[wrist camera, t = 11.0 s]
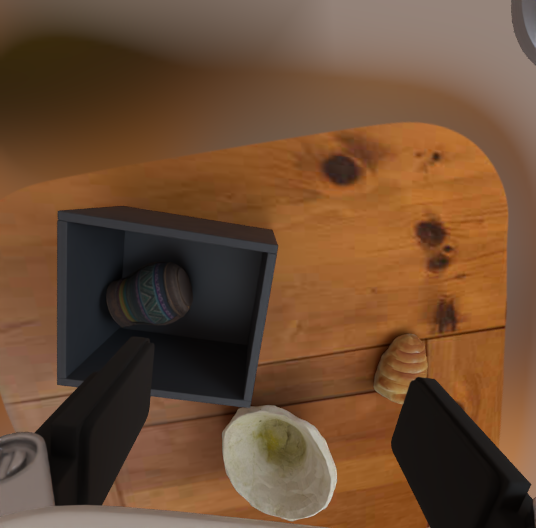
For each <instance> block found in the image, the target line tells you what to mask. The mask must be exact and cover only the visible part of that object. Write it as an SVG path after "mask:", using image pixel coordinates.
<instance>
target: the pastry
mask: <svg viewBox="0 0 536 528" xmlns="http://www.w3.org/2000/svg"><path fill="white" fill-rule="evenodd" d="M427 367H428V364H427V357H426V351H425V345H424V344H423V342H422V341H421V340H420V339H419V338H418V337H417V336H416V335H414V334H404V335H401V336H398V337H397V338H396V339H395V340H393V342H392V343H391V344H390V346H389V348H388V349H387V351H386V352H384V353H383V355H382V356H381V360H380V362H379V365H378V367H377V368H378V369H377V371H376V373H375V377H374V379H375V381H374V389H375V391H376V392H378V393H379V394H381V395H382V396H384V397H386V398H388V399H389V400H391V401H393V402H396V403H400V404H403V403H404V400H405V397H406V394H407V391H408V387H409V384H410V382H411V381H413V380H415V379H416V378H417V377H423V378H426V375H427Z"/></svg>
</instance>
